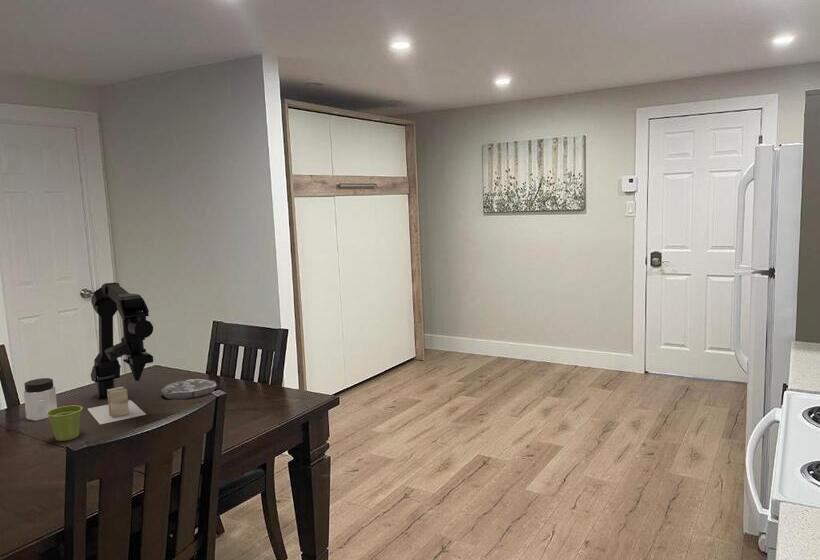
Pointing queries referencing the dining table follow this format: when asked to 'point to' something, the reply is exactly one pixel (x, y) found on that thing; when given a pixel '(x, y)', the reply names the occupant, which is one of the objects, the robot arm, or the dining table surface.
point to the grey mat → (103, 417)
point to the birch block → (118, 402)
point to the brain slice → (188, 389)
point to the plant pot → (65, 422)
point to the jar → (39, 398)
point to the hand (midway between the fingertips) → (136, 380)
